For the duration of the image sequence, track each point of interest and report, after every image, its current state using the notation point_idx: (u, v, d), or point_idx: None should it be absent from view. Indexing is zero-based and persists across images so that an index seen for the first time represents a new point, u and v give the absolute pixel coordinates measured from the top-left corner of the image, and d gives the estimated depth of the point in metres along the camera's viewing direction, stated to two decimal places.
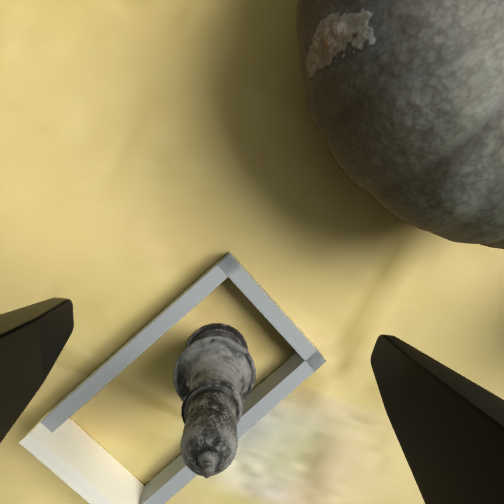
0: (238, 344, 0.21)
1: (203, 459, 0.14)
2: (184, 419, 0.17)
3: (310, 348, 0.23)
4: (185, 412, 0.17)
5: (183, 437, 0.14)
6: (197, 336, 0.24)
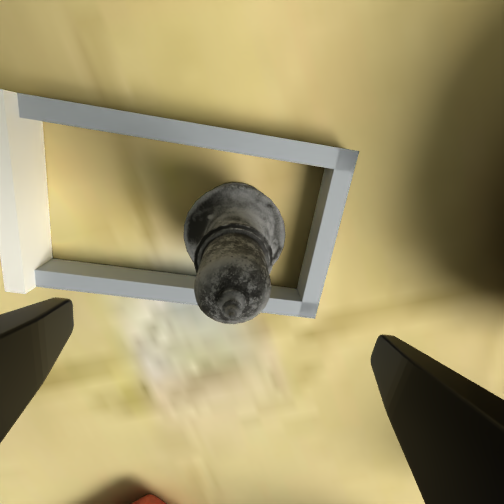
0: (284, 233, 0.17)
1: (232, 296, 0.10)
2: (202, 242, 0.13)
3: (317, 297, 0.21)
4: (211, 237, 0.13)
5: (221, 257, 0.10)
6: None
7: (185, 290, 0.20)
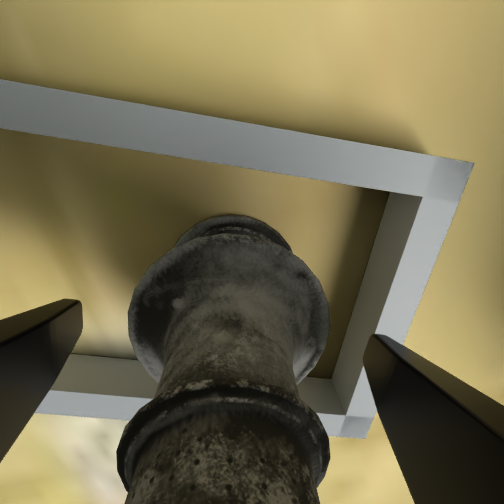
0: (327, 324, 0.09)
1: None
2: (134, 430, 0.05)
3: (371, 408, 0.12)
4: (160, 423, 0.04)
5: None
6: (239, 226, 0.11)
7: (145, 402, 0.11)
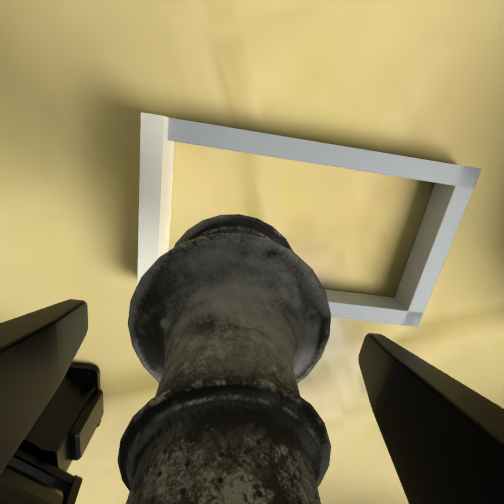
0: (322, 290, 0.08)
1: None
2: (124, 457, 0.05)
3: (422, 306, 0.21)
4: (138, 445, 0.05)
5: None
6: (215, 228, 0.11)
7: None
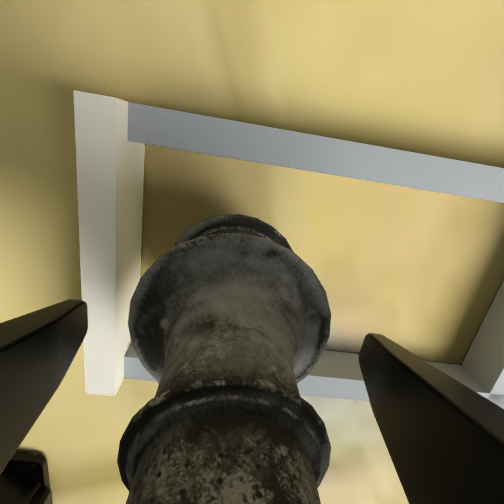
0: (321, 290, 0.08)
1: None
2: (124, 457, 0.05)
3: None
4: (137, 445, 0.05)
5: None
6: (214, 228, 0.11)
7: (332, 380, 0.14)
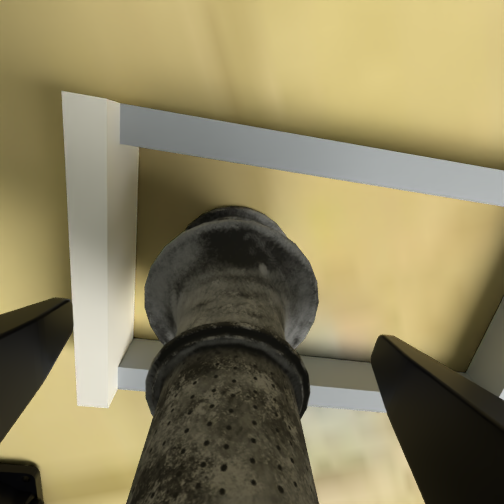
0: None
1: None
2: (256, 335, 0.06)
3: None
4: (274, 354, 0.06)
5: None
6: None
7: (333, 390, 0.14)
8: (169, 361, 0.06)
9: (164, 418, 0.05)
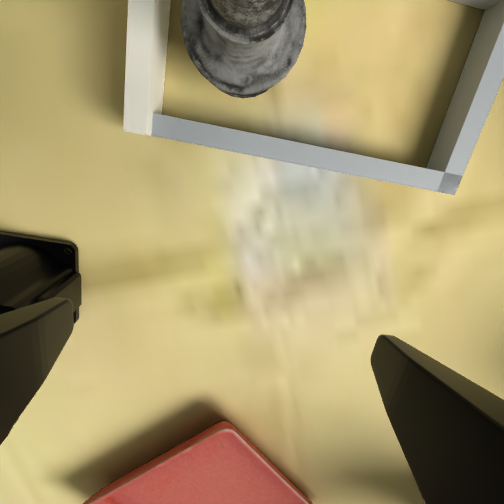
0: (260, 90, 0.15)
1: None
2: None
3: (462, 167, 0.18)
4: None
5: None
6: None
7: (318, 150, 0.17)
8: None
9: None
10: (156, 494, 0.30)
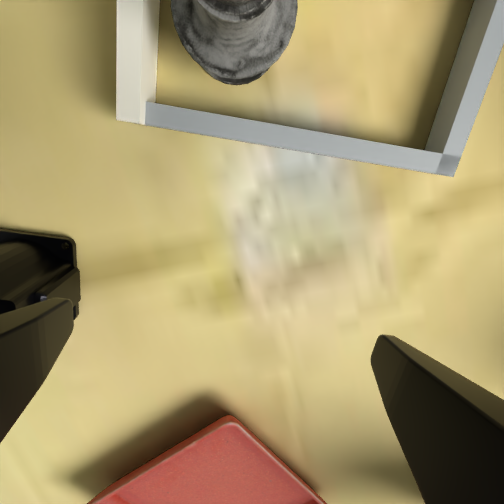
0: (253, 74, 0.15)
1: None
2: None
3: (460, 148, 0.18)
4: None
5: None
6: None
7: (313, 134, 0.17)
8: None
9: None
10: (162, 491, 0.29)
